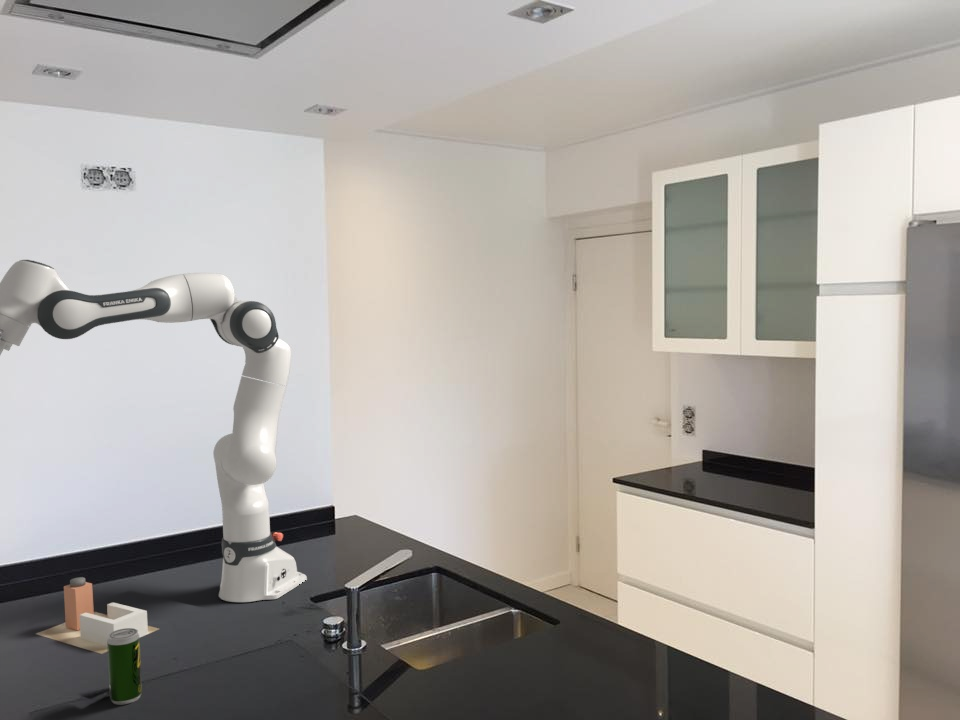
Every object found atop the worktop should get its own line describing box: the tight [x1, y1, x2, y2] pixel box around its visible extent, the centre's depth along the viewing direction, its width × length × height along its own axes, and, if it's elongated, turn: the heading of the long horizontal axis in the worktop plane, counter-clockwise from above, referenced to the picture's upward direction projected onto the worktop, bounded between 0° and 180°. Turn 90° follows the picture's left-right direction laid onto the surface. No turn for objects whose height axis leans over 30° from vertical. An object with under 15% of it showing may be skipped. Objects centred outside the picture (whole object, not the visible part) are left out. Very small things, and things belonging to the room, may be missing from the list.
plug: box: [63, 576, 95, 630], centre depth 176 cm, size 4×4×10 cm
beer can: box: [107, 628, 143, 706], centre depth 146 cm, size 5×5×12 cm
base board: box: [35, 611, 160, 655], centre depth 174 cm, size 14×22×2 cm, turn 61°
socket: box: [79, 602, 149, 646], centre depth 171 cm, size 8×11×5 cm
